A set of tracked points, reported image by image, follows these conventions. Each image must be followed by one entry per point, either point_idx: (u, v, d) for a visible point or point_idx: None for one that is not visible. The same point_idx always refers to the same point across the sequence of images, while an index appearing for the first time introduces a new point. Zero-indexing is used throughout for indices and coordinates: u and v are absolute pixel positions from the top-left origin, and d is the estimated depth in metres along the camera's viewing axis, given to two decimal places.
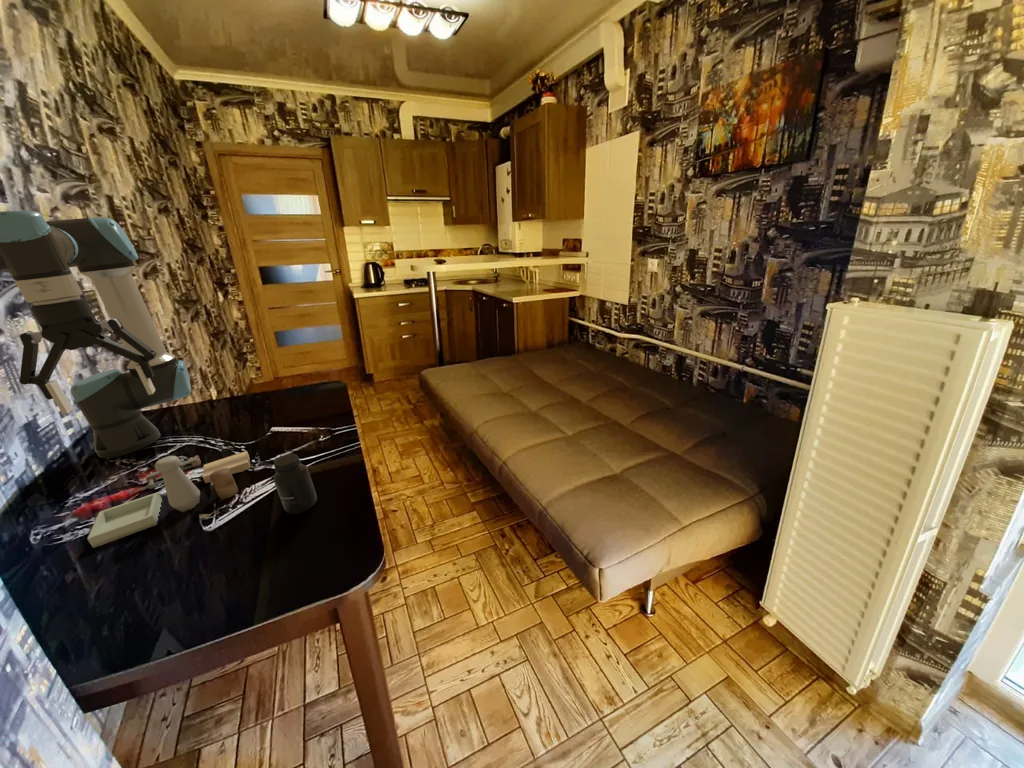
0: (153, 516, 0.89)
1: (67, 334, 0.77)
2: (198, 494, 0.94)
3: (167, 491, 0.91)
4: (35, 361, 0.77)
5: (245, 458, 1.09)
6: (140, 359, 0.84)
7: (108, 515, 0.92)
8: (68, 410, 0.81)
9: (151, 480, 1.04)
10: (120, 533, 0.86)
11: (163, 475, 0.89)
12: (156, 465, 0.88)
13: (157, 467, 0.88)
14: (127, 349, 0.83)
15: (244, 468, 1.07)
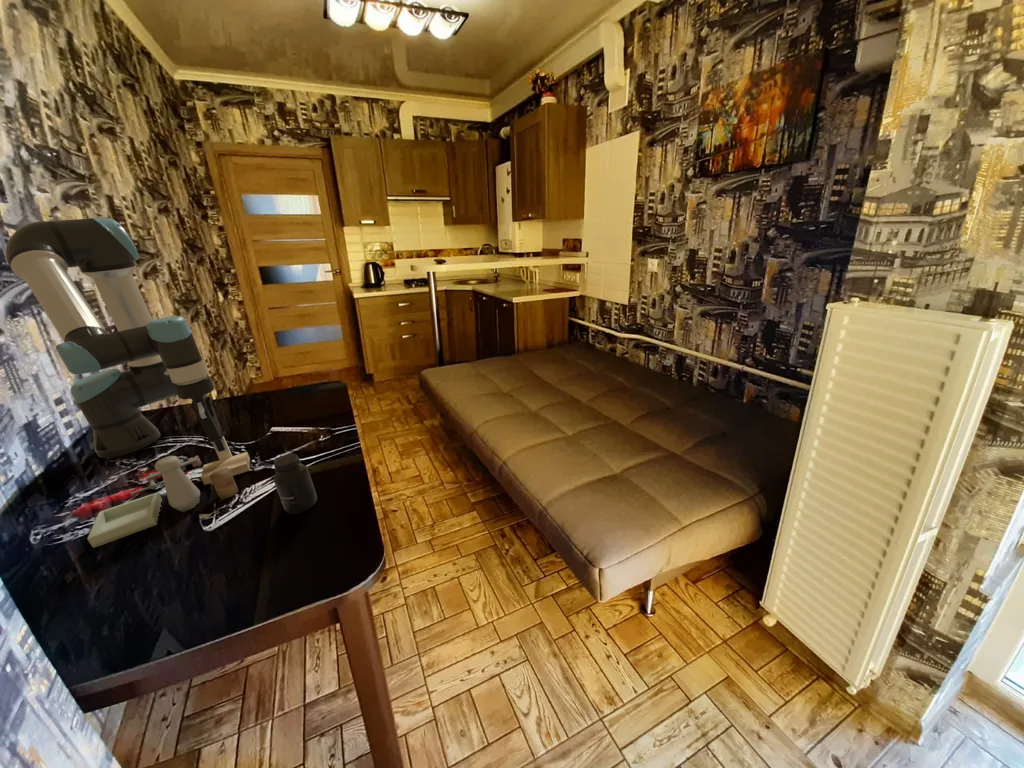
0: (153, 516, 0.89)
1: None
2: (198, 494, 0.94)
3: (167, 491, 0.91)
4: None
5: (245, 459, 1.07)
6: None
7: (108, 515, 0.92)
8: (223, 458, 1.09)
9: (152, 481, 1.04)
10: (120, 533, 0.86)
11: (163, 475, 0.89)
12: (156, 465, 0.88)
13: (157, 467, 0.88)
14: None
15: (243, 469, 1.06)
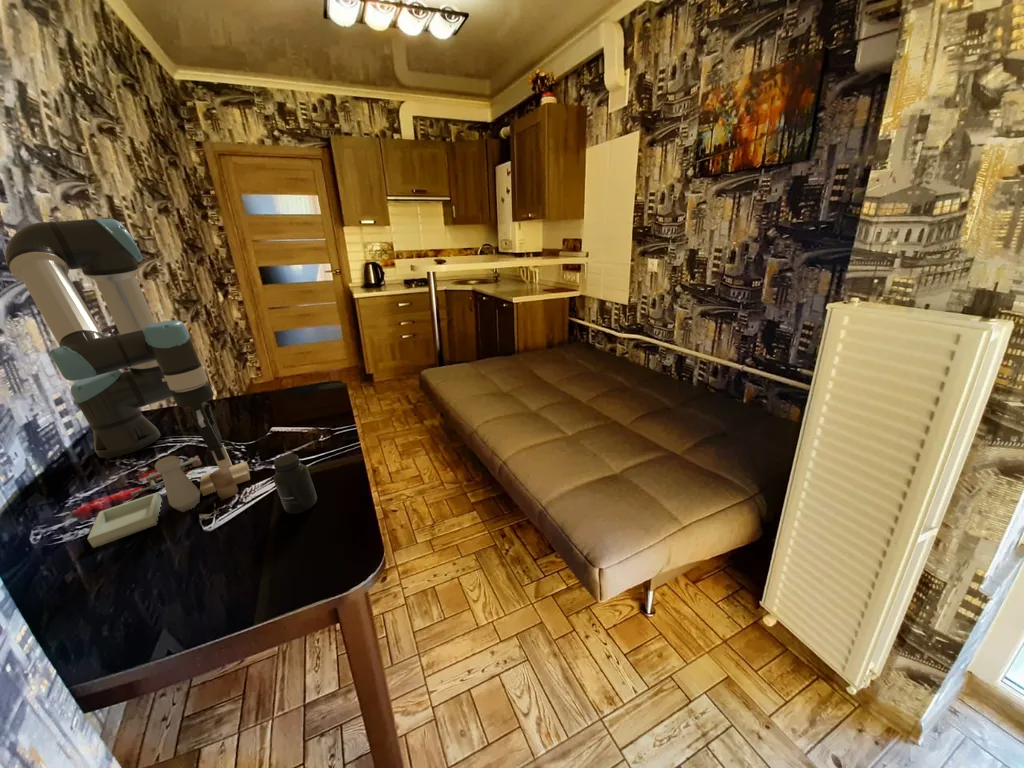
0: (153, 516, 0.89)
1: None
2: (198, 494, 0.94)
3: (167, 491, 0.91)
4: None
5: (245, 469, 1.04)
6: None
7: (108, 515, 0.92)
8: None
9: (152, 481, 1.04)
10: (120, 533, 0.86)
11: (163, 475, 0.89)
12: (156, 465, 0.88)
13: (157, 467, 0.88)
14: None
15: (244, 480, 1.02)
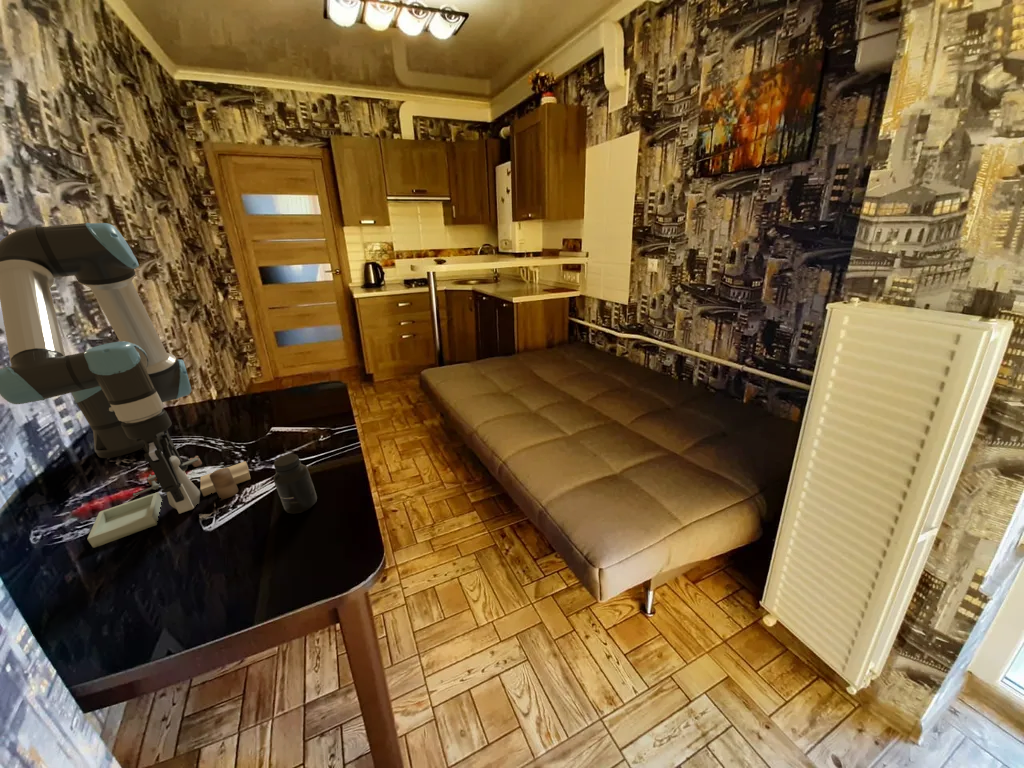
0: (153, 516, 0.89)
1: None
2: (198, 494, 0.94)
3: None
4: None
5: (245, 468, 1.04)
6: None
7: (108, 515, 0.92)
8: None
9: (154, 482, 1.04)
10: (120, 533, 0.86)
11: None
12: None
13: None
14: None
15: (244, 479, 1.02)
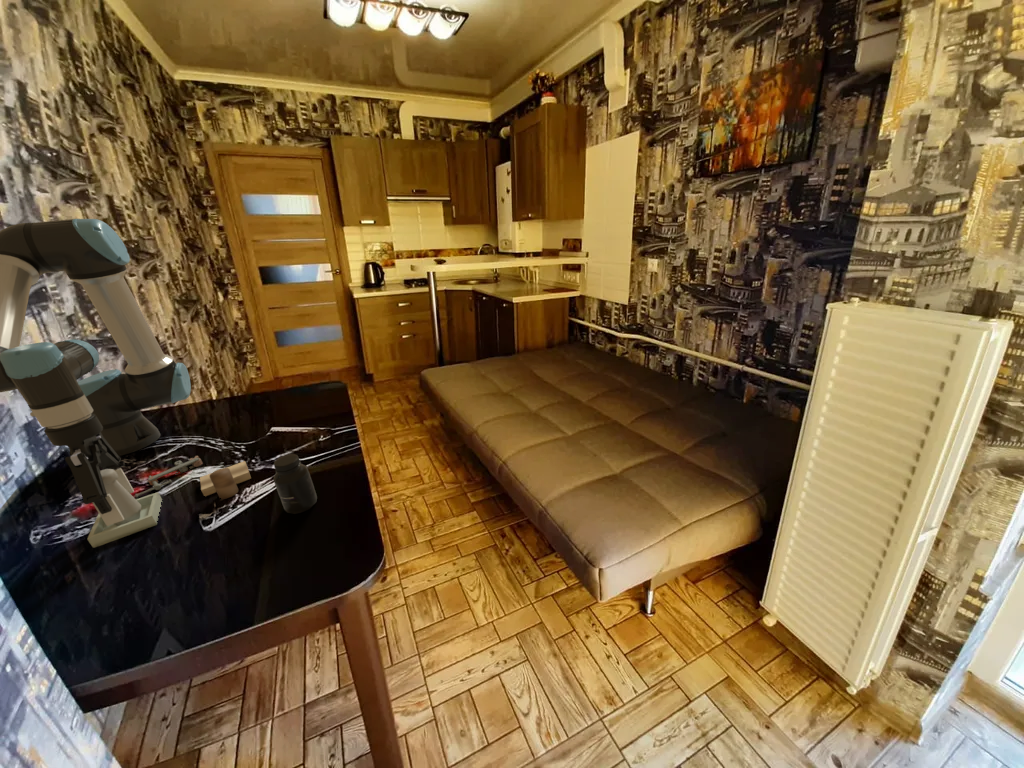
0: (153, 516, 0.89)
1: None
2: (138, 508, 0.90)
3: None
4: (107, 451, 0.90)
5: (245, 468, 1.04)
6: None
7: None
8: None
9: (155, 482, 1.03)
10: (120, 533, 0.86)
11: None
12: None
13: None
14: None
15: (245, 479, 1.02)
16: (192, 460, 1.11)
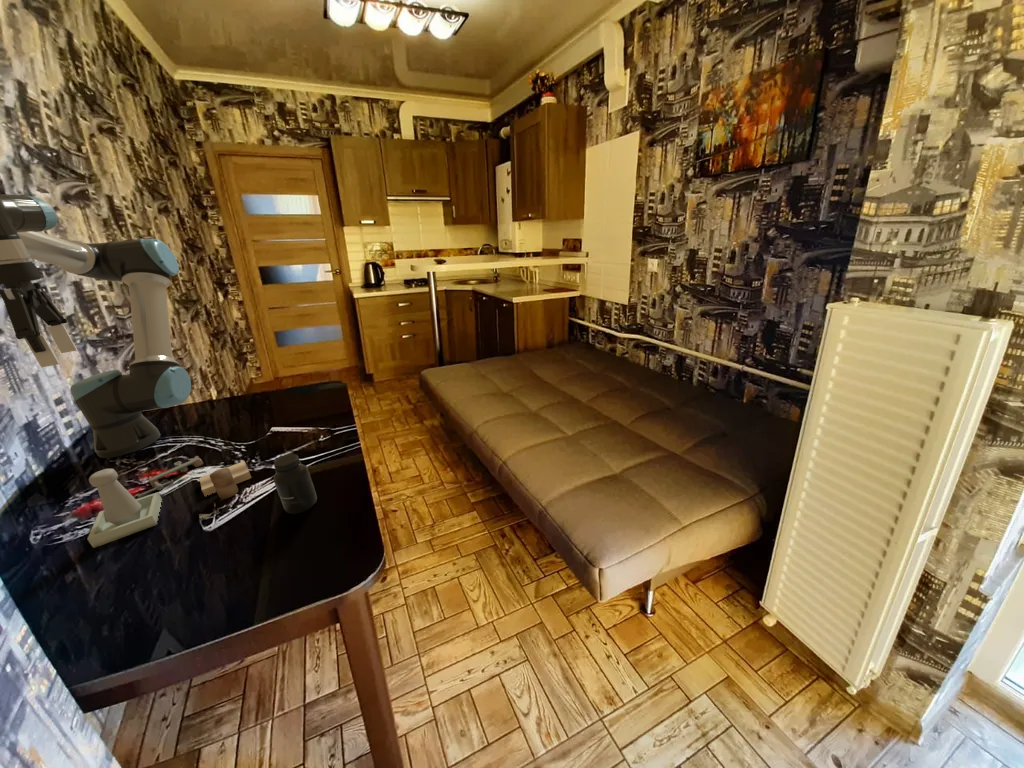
0: (153, 516, 0.89)
1: None
2: (138, 508, 0.90)
3: (103, 506, 0.87)
4: (49, 306, 0.94)
5: (245, 468, 1.04)
6: None
7: None
8: (65, 351, 0.97)
9: (156, 482, 1.03)
10: (120, 533, 0.86)
11: (98, 489, 0.85)
12: (90, 479, 0.84)
13: (91, 481, 0.84)
14: None
15: (245, 478, 1.02)
16: (192, 460, 1.11)
